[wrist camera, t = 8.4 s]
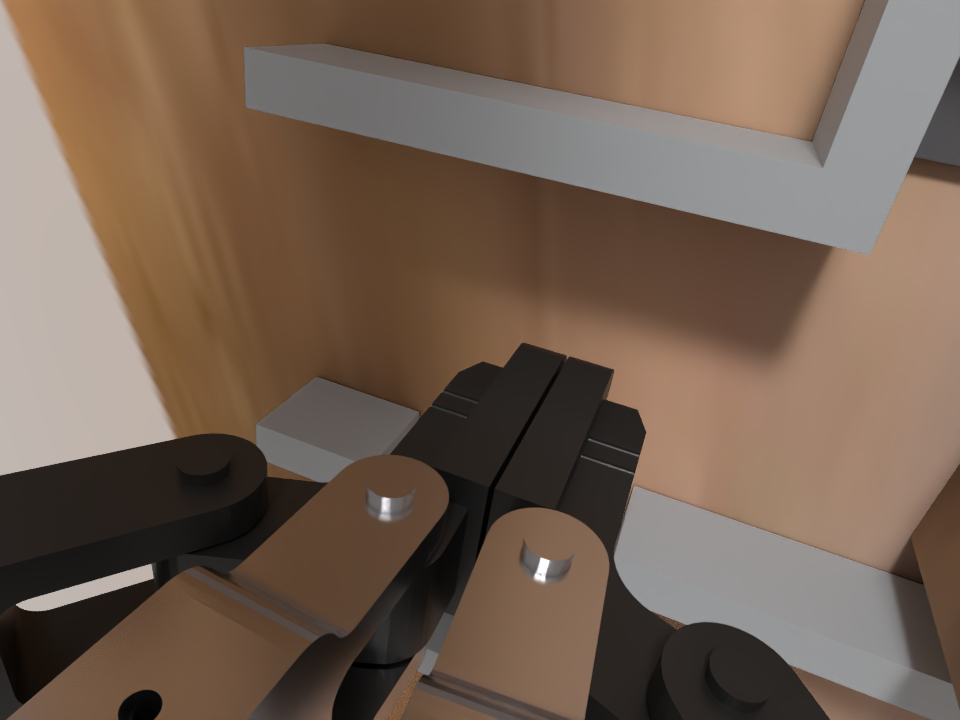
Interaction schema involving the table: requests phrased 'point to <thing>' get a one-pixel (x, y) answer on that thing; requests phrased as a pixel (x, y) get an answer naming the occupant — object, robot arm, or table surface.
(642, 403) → the table surface
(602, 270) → the table surface
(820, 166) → the track
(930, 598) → the block
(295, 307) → the table surface
